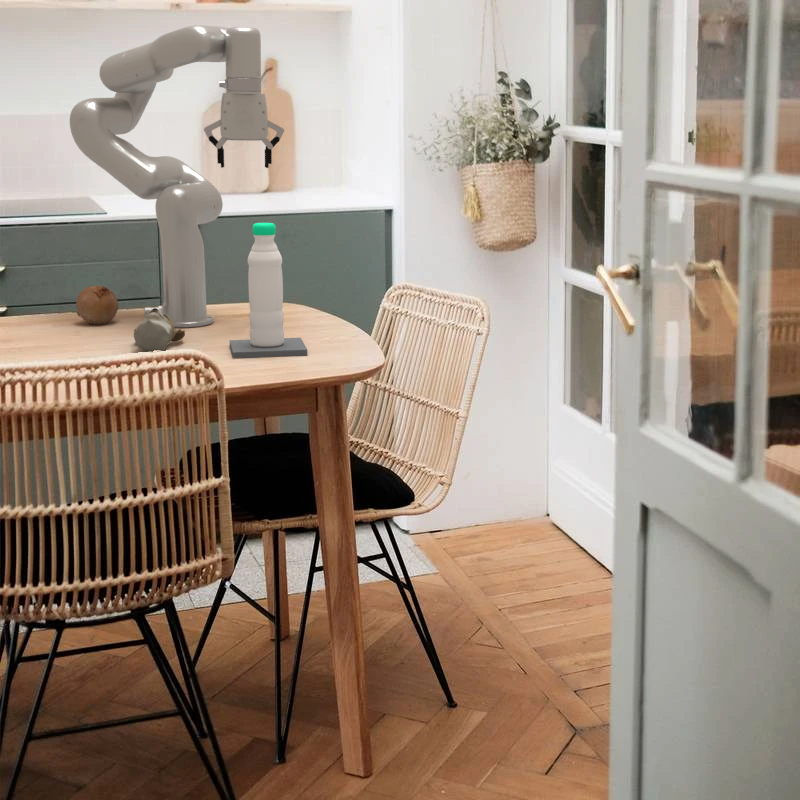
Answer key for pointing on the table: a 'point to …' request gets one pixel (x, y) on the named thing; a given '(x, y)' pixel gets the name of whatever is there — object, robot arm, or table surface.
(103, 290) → the onion
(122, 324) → the table surface
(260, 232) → the water bottle
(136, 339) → the ceramic sculpture
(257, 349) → the slate mat
